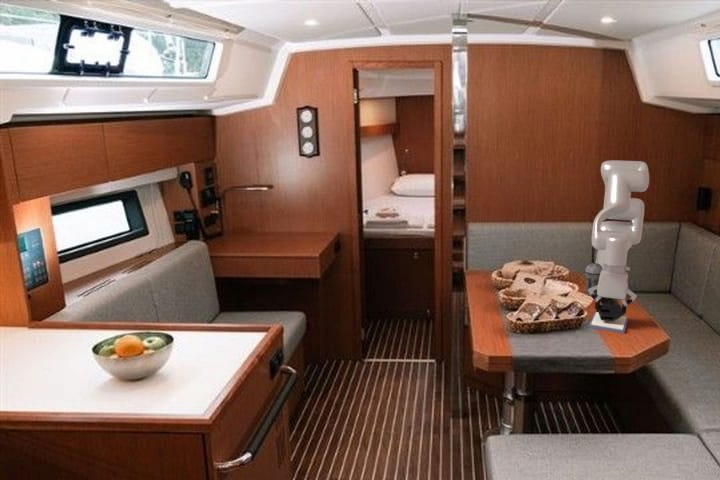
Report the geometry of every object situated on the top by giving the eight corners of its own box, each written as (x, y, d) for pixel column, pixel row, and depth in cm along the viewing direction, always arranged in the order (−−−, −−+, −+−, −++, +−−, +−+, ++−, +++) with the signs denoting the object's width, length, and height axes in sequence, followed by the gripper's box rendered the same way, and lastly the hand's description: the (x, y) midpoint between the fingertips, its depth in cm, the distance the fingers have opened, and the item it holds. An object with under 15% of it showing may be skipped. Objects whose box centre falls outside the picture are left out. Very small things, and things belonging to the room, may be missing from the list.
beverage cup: (578, 296, 251) (583, 251, 247) (591, 294, 254) (595, 250, 250) (592, 301, 245) (596, 255, 240) (604, 299, 248) (609, 253, 243)
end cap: (621, 322, 214) (623, 305, 213) (601, 320, 216) (602, 303, 214) (617, 313, 224) (619, 296, 222) (597, 311, 225) (599, 295, 224)
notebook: (594, 314, 230) (595, 311, 230) (628, 319, 224) (628, 316, 224) (588, 327, 216) (589, 324, 216) (624, 333, 210) (624, 330, 210)
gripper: (641, 269, 215) (636, 314, 218) (591, 263, 223) (586, 306, 227) (639, 274, 208) (634, 320, 212) (588, 267, 216) (584, 312, 220)
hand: (609, 312), depth 219 cm, fingers closed on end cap, 8 cm apart
